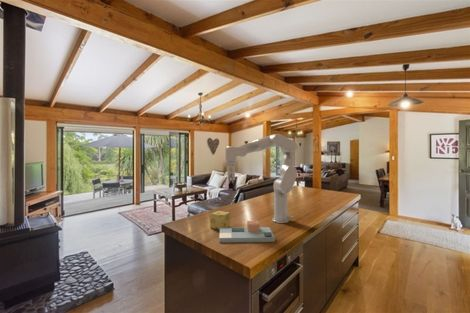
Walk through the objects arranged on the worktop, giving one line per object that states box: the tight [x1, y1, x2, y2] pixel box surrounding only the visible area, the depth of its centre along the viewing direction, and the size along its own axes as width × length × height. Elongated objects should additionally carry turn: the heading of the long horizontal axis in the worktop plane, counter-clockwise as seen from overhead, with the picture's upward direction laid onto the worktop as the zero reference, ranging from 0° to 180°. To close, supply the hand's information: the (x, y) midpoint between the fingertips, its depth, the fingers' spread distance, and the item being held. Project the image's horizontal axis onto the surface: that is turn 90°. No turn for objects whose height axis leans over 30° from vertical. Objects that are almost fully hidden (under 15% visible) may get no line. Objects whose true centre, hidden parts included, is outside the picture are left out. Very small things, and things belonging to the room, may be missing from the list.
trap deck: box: [218, 226, 276, 243], centre depth 142 cm, size 32×18×2 cm, turn 93°
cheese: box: [209, 210, 232, 231], centre depth 159 cm, size 10×11×10 cm
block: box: [246, 220, 260, 232], centre depth 147 cm, size 7×7×4 cm
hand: (230, 187), depth 166 cm, fingers open, 9 cm apart
